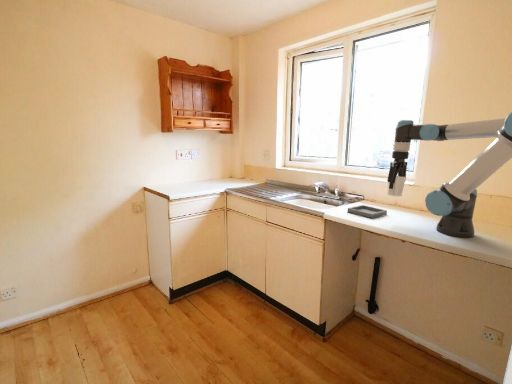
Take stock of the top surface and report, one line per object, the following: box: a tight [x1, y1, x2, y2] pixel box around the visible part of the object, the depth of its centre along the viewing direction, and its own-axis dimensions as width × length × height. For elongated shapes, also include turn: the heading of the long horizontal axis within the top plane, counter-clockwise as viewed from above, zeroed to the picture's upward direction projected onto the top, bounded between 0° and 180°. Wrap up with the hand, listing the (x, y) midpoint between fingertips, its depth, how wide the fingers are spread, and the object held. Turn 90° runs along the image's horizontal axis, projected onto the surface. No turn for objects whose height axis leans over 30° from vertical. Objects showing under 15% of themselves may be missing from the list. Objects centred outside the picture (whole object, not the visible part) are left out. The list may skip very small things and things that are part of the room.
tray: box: [347, 204, 388, 219], centre depth 167 cm, size 16×16×2 cm
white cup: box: [387, 175, 406, 197], centre depth 147 cm, size 8×8×10 cm
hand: (394, 193), depth 148 cm, fingers closed on white cup, 7 cm apart
